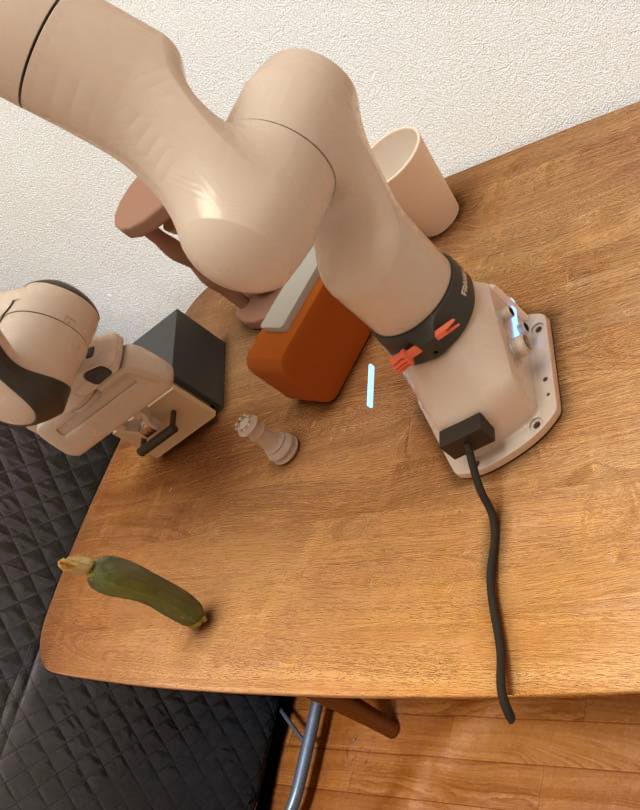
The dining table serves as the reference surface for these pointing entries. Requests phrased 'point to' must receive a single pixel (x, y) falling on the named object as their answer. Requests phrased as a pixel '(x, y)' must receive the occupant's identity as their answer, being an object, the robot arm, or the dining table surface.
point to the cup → (416, 180)
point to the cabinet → (189, 355)
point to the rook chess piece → (268, 439)
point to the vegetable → (137, 587)
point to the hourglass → (144, 218)
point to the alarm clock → (307, 339)
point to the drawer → (171, 420)
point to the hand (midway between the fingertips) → (154, 430)
